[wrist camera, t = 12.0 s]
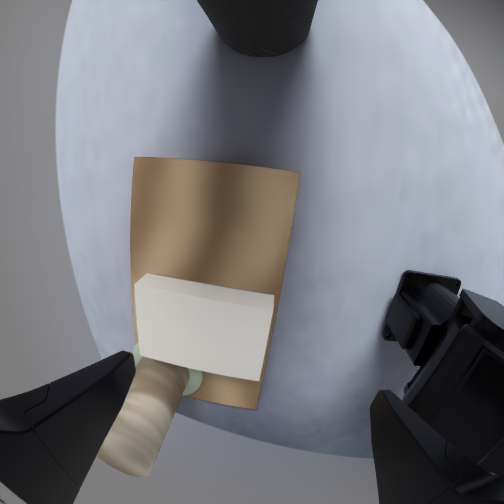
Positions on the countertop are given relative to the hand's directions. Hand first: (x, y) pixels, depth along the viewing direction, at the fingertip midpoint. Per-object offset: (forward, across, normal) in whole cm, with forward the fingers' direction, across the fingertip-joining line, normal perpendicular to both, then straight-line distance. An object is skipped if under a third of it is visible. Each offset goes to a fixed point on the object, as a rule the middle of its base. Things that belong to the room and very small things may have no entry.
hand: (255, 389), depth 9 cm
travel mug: (+13, +3, -19) cm, 23 cm away
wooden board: (+13, +5, +4) cm, 14 cm away
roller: (+12, +8, +12) cm, 18 cm away
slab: (+12, +4, +4) cm, 13 cm away
